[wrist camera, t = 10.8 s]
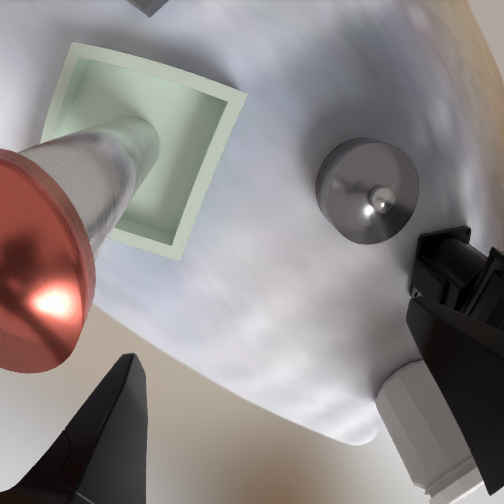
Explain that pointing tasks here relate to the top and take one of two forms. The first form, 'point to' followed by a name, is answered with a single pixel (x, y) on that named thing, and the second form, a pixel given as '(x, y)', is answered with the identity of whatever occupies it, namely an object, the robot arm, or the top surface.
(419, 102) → the top surface
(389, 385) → the jar
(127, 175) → the pin
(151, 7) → the tensioner block
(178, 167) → the tray
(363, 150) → the disc
